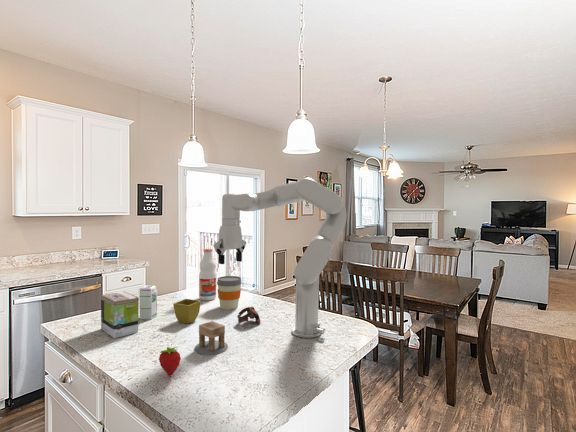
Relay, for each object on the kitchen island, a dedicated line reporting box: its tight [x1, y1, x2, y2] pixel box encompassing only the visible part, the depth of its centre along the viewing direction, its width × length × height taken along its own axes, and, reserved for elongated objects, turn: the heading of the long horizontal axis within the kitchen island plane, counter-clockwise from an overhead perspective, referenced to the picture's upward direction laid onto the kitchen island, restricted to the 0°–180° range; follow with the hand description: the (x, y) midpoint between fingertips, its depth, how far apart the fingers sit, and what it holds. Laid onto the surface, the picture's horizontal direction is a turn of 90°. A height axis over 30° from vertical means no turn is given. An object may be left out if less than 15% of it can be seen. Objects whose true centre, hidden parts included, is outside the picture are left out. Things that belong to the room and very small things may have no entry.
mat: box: [194, 339, 229, 356], centre depth 124 cm, size 12×12×1 cm
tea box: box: [100, 291, 140, 339], centre depth 139 cm, size 15×10×15 cm
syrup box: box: [138, 284, 158, 320], centre depth 156 cm, size 6×6×14 cm
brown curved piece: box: [236, 306, 261, 325], centre depth 151 cm, size 12×10×8 cm
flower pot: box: [173, 298, 202, 324], centre depth 151 cm, size 9×9×9 cm
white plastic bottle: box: [198, 248, 217, 302], centre depth 189 cm, size 9×9×28 cm
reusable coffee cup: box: [216, 275, 242, 310], centre depth 174 cm, size 13×13×15 cm
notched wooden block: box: [198, 320, 226, 352], centre depth 124 cm, size 6×8×8 cm
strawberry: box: [158, 344, 182, 377], centre depth 103 cm, size 6×8×10 cm
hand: (230, 262), depth 144 cm, fingers open, 9 cm apart
